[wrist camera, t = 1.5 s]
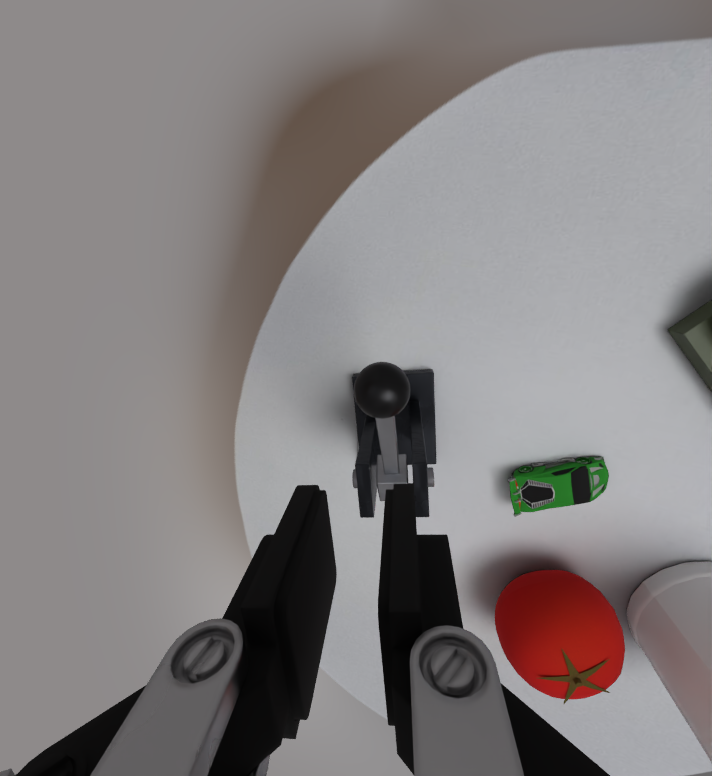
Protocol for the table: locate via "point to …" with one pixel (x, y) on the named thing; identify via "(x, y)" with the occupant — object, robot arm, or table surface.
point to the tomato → (560, 634)
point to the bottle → (679, 638)
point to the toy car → (557, 484)
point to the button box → (697, 340)
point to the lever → (385, 417)
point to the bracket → (400, 444)
